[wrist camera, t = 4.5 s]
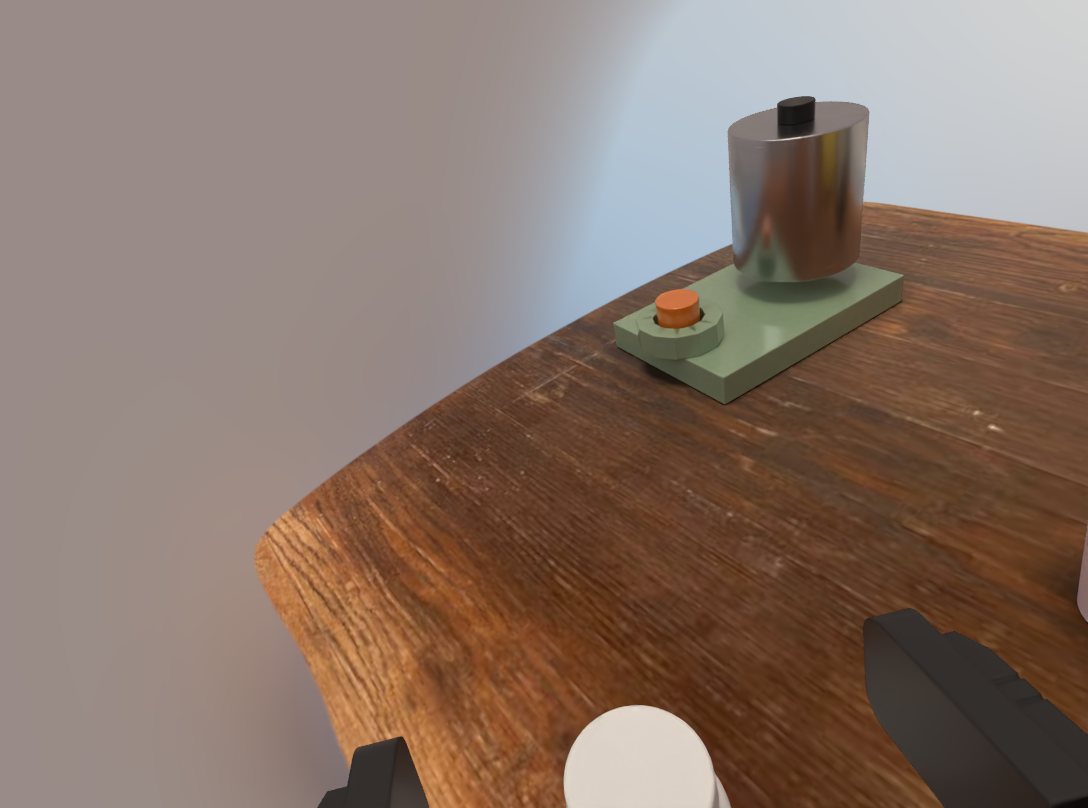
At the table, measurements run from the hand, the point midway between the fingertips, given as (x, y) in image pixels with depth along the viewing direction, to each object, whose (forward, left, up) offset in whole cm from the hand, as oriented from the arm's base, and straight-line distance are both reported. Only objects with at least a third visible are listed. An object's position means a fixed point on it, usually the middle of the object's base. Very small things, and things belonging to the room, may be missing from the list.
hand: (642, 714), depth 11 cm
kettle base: (+7, +40, -15) cm, 44 cm away
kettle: (+10, +43, -11) cm, 46 cm away
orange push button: (+1, +36, -12) cm, 38 cm away
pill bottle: (-1, +2, -16) cm, 16 cm away
